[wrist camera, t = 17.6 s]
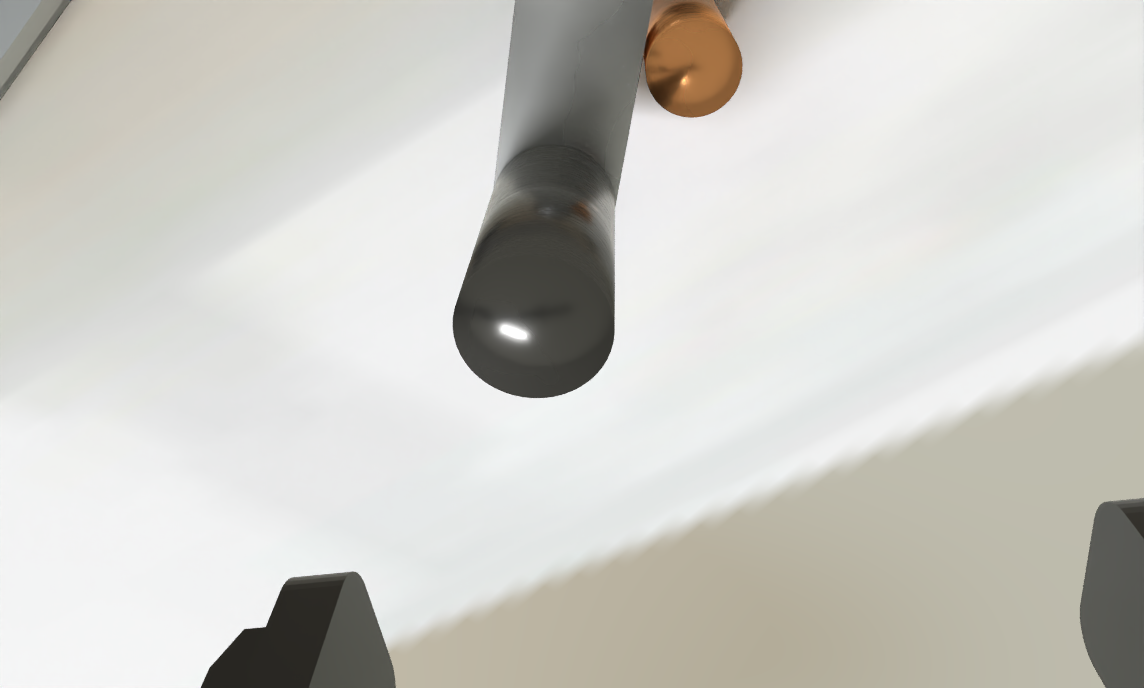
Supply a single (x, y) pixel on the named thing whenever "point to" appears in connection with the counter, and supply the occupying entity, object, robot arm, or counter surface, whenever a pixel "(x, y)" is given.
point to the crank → (554, 199)
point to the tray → (23, 33)
